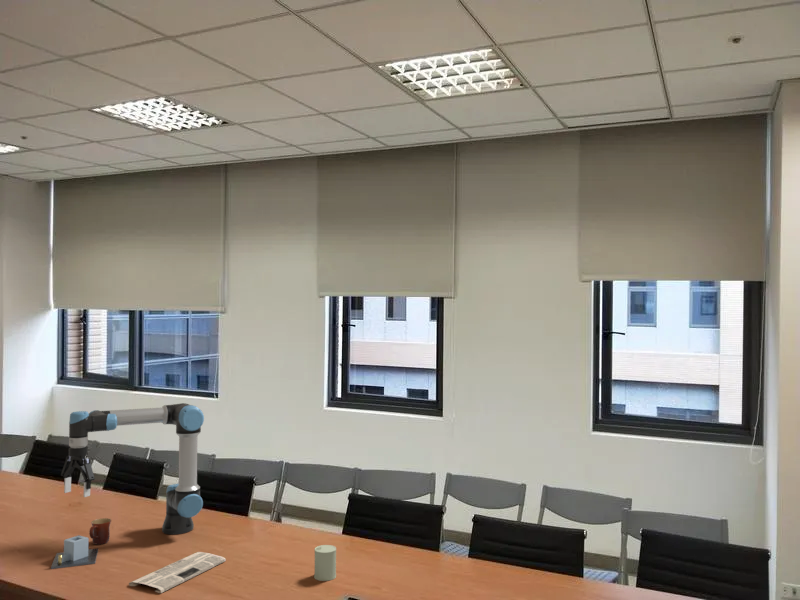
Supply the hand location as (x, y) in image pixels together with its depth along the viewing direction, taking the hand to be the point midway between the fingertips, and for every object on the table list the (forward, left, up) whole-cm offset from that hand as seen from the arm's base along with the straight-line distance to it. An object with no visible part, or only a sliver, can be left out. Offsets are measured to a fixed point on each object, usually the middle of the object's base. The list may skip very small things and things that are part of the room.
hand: (77, 494), depth 279 cm
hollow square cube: (+2, +1, -28) cm, 28 cm away
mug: (-8, -18, -29) cm, 35 cm away
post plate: (0, 0, -29) cm, 29 cm away
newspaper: (-42, +32, -29) cm, 60 cm away
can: (-99, +58, -29) cm, 118 cm away
